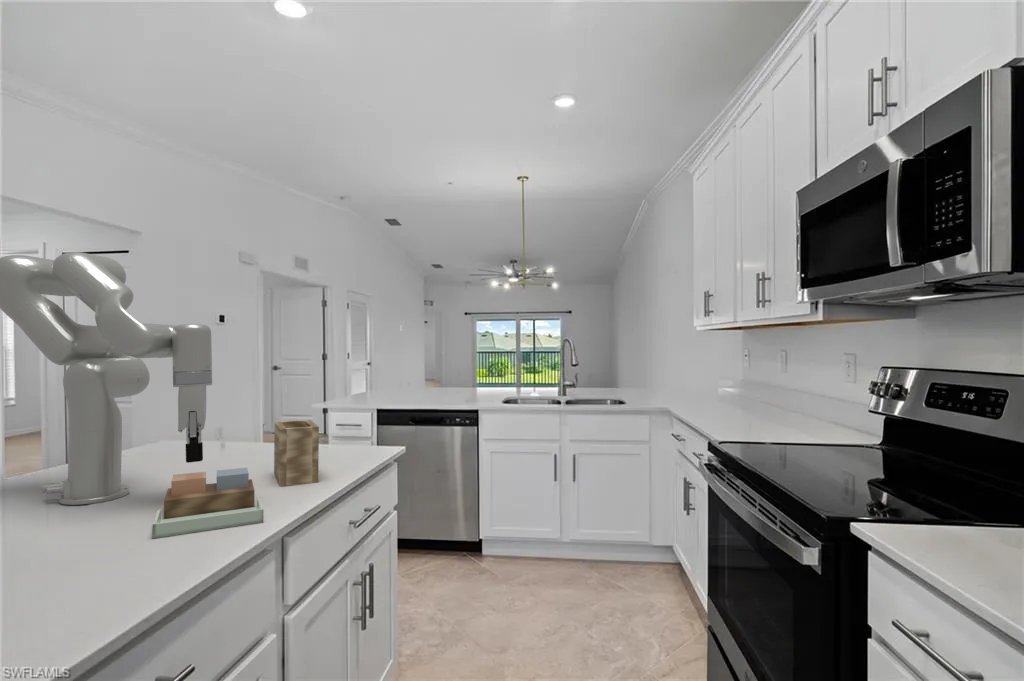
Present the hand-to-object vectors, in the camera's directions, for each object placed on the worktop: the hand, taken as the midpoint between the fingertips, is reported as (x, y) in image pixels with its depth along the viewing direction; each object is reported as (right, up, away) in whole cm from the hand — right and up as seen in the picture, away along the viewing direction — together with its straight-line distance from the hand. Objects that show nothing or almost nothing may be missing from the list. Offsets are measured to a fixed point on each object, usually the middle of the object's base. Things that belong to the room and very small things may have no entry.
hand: (194, 461), depth 117 cm
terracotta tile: (+3, -5, -7) cm, 9 cm away
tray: (+12, -9, -15) cm, 21 cm away
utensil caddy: (+15, -9, +19) cm, 26 cm away
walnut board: (+7, -9, -6) cm, 13 cm away
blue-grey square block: (+10, -5, -3) cm, 11 cm away
